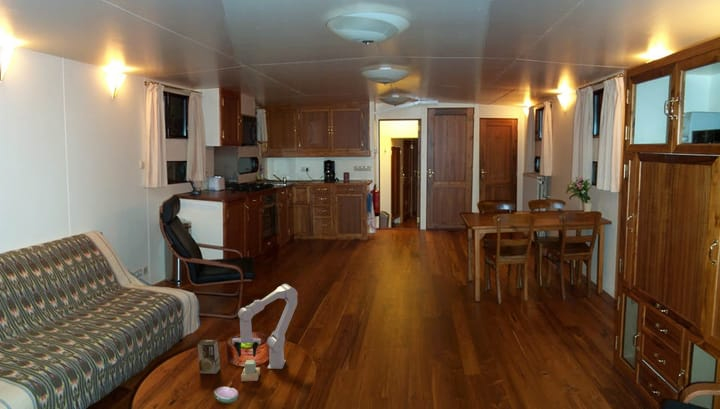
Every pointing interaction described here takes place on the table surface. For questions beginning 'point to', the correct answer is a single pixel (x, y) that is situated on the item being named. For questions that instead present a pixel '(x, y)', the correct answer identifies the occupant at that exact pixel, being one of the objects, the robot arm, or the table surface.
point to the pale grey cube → (250, 366)
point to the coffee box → (209, 356)
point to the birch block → (250, 375)
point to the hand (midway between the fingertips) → (247, 356)
